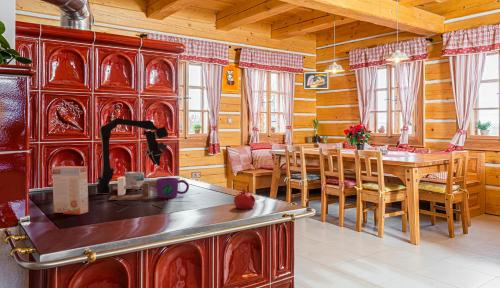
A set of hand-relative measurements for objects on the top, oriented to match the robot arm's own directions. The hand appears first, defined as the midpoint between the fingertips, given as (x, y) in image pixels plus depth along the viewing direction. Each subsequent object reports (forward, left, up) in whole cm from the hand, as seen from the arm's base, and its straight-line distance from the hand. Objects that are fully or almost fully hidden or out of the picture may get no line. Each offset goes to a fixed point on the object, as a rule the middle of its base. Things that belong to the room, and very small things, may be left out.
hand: (157, 165), depth 242 cm
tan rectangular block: (-17, -30, -12) cm, 37 cm away
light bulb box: (-14, +3, -15) cm, 21 cm away
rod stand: (-13, -30, -15) cm, 36 cm away
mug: (+10, -31, -15) cm, 36 cm away
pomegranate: (+43, -71, -15) cm, 84 cm away
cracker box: (-34, -63, -15) cm, 73 cm away
